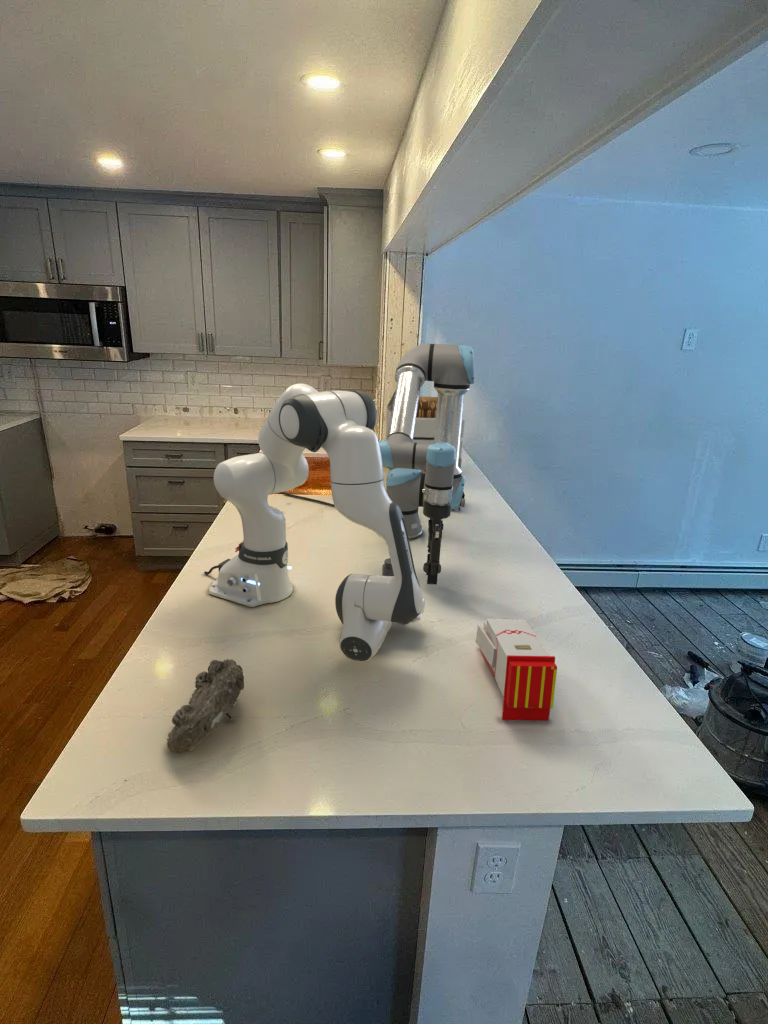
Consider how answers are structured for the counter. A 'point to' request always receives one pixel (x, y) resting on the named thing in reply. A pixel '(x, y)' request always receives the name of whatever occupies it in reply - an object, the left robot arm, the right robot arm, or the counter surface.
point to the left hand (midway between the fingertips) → (390, 588)
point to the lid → (425, 568)
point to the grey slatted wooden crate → (424, 422)
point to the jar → (387, 568)
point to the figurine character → (462, 501)
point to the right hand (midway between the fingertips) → (431, 579)
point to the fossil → (206, 705)
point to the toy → (519, 668)
